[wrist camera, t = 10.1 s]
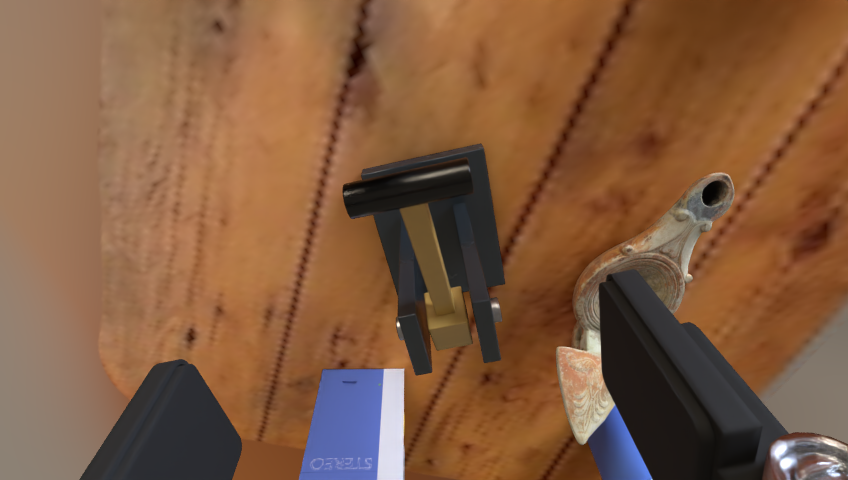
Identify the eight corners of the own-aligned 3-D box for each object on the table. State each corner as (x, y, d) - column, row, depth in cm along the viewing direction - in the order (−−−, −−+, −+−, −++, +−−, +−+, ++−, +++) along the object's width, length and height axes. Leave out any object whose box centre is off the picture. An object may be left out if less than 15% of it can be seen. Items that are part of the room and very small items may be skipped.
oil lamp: (508, 338, 43) (534, 429, 34) (663, 137, 34) (753, 192, 25) (583, 367, 45) (626, 460, 36) (748, 185, 36) (857, 251, 27)
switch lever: (342, 168, 19) (341, 212, 17) (463, 142, 18) (474, 184, 17) (409, 319, 29) (413, 355, 27) (488, 304, 28) (496, 340, 27)
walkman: (325, 389, 45) (300, 511, 35) (322, 368, 44) (296, 489, 34) (404, 389, 46) (404, 510, 35) (405, 368, 44) (404, 488, 34)
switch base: (362, 169, 34) (339, 266, 23) (481, 143, 34) (520, 229, 22) (400, 296, 40) (397, 425, 29) (502, 276, 39) (542, 399, 28)
